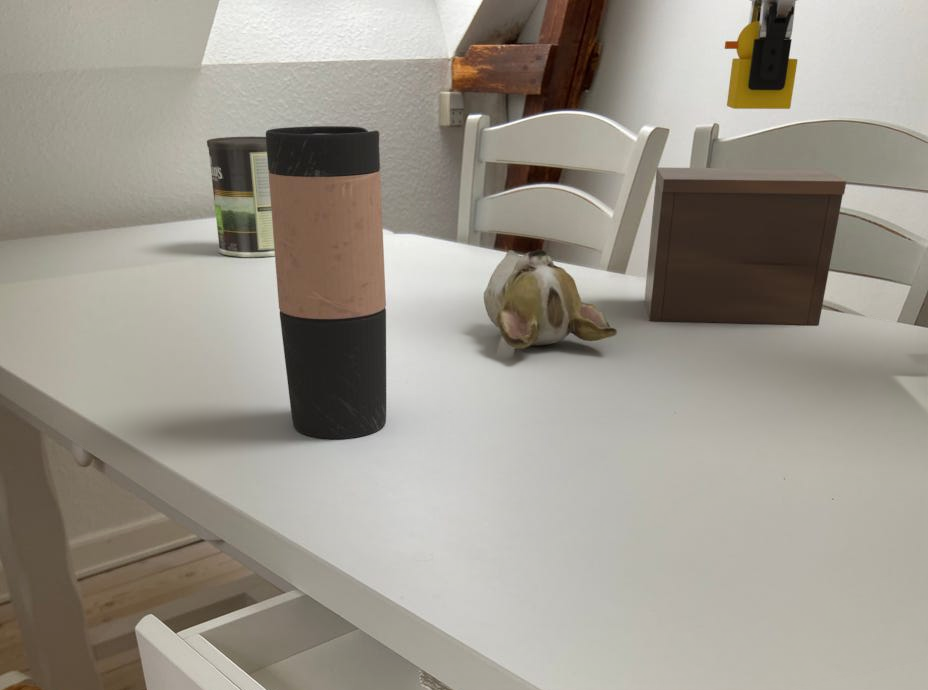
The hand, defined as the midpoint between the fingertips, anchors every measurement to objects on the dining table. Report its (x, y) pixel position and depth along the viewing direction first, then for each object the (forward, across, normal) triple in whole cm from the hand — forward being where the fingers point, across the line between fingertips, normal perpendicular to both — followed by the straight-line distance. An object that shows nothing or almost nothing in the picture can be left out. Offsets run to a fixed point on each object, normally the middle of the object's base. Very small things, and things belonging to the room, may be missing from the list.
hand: (761, 86), depth 94 cm
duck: (+2, 0, 0) cm, 2 cm away
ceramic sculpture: (+22, -11, +20) cm, 31 cm away
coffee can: (+22, +36, +60) cm, 73 cm away
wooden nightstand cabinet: (+21, +4, 0) cm, 22 cm away
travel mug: (+22, -37, +34) cm, 55 cm away
